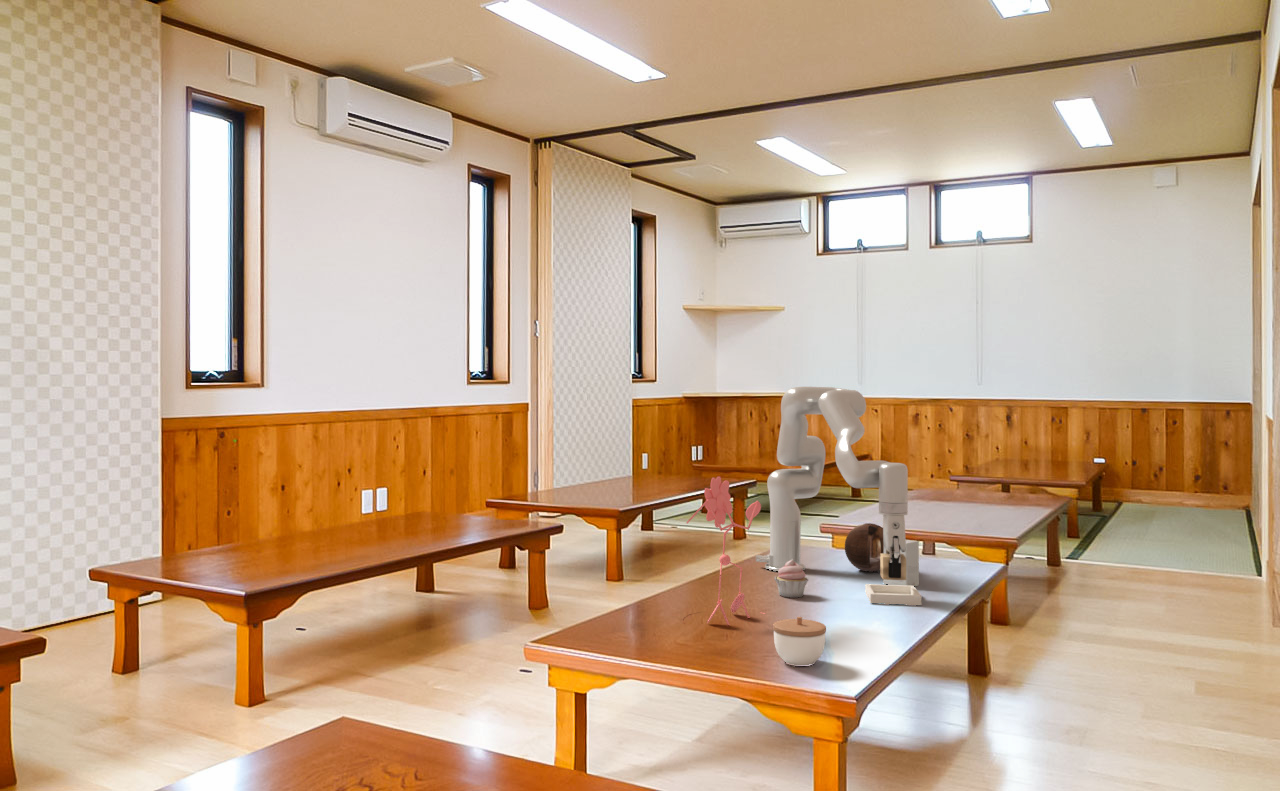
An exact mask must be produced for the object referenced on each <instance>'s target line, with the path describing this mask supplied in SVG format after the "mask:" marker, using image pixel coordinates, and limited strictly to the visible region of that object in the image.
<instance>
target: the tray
mask: <svg viewBox="0 0 1280 791" xmlns="http://www.w3.org/2000/svg"><path fill="white" fill-rule="evenodd" d="M864 587H865V588H864V589H865V592H866V594H865V595H867V596H866V597H868V598H869V600H868V601H870V602H869V604H870V603H885V604H884V605H889V604H905V605H904V606H916V605H921V606H922V594H921V593H920V592H919V591H918V589H917V588H916V586H915V587H914V586H908V585H886V584H870V583H865V585H864ZM865 592H864V593H865ZM868 598H867V599H868ZM906 604H907V605H906Z"/></svg>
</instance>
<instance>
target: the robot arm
mask: <svg viewBox="0 0 1280 791" xmlns="http://www.w3.org/2000/svg"><path fill="white" fill-rule="evenodd" d="M780 402H781V403H780V413H781V414H780V415H781V416H780V417H781V420H780V429H779V433H778V434H779V435H778V441H777V448H776V449H777V450H776V460H777V461H778V463H779V464H780V465H783V466H786V467H801V468H781V469H776V470H774V471H773V472H771V473H769V475H768V478H767V482H766V484H767V486H766V487H767V491H768V496H769V497H768V498H769V510H770V511H769V512H770V513H769V514H770V516H769V518H770V522H769V523H770V524H769V526H770V527H769V531H770V532H769V534H770V537H769V552H768V554H765V555H761V554H760V555H757V554H756V555H755V562H758V563H765V564H764V567H765V569H766V570H767V569H769V570H768V571H771V570H773V571H772V572H776V571H779V569H780V568H782V567H784V566H785V564H786V563H787V562H788V561H790V560H793V561H794V562H796V563H797V564H799V565H800V566H801V567H802V570H804V571H805V570H806V565H805V564H802V563H801V537H802V536H801V535H802V533H801V525H802V523H801V522H802V521H801V517H802V516H801V510H800V508H799V505H798V504H797V502H796V500H797V499H810V498H813V497H814V498H815V497H816V496H817V495H818V494H819V492H820V489H821V486H822V481H823V474H824V468H825V464H826V456H827V455H826V447H825V444H824V441H823V440H822V439H821V438H820V437H818V436H815V435H808V430H809V421H808V419H807V416H806V415H822V416H823V417H824V419H825V422H826V423H827V425H828V427H829V428H830V430H831V432H832V434H833V436H835V439H836V441H837V442H836V445H835V449H834V457H835V458H834V459H835V464H836V466H837V469H838V471H839V473H840V474H841V476H842V477H843V479H844V481H845V482H846V483H847V484H848V485H849V486H851V487H852V488H855V489H867V488H869V489H871V488H874V489H875V488H877V489H878V514H879V515H882V517H883V518H882V528H883V543H884V547H885V549H886V554H889V557H890V562H889V577H890V578H901V557H900V549H901V551H902V552H905V551H906V540H907V539H906V521H905V516H908V514H909V512H908V511H909V510H908V506H909V504H908V499H909V498H908V497H909V495H908V493H909V492H908V490H909V487H908V486H909V485H908V483H909V481H908V480H909V479H908V478H909V477H908V476H909V474H908V473H909V470H908V466H907V465H906V464H905V463H901V462H890V461H887V460H881V459H879V460H878V459H877V460H858V458H857V457H856V455H855V453H854V452H853V449H852V445H854V444H856V443H857V442H858V441H860V440H861V438H862V437H863V436H864V434H865V432H866V431H865V426H864V425H863V423H862V421H861V419H860V418H861V417H862V416H863V415H864V414H865V412H866V411H867V402H866V398H865V396H863V394H862V393H860V392H859V391H858V390H855V389H846V388H839V387H832V386H831V387H830V386H796V387H791V388H790V389H788V390H786V391H785V393H784V394H783V395H782V397H781V401H780Z"/></svg>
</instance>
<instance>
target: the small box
mask: <svg viewBox="0 0 1280 791" xmlns="http://www.w3.org/2000/svg"><path fill="white" fill-rule="evenodd" d="M919 543H920V541H919V540H918V541H917V540H913V539H912V540H910V539H906V551H905V552H902V551H901V549H900V554H903V555H904V556H905V557H906V580H883V579H882V580H883V581H882V582H883V583H884V584H883V585H886V584H888V585H908V586H915V587H918V586H919V585H920V584H919V583H920V574H919V573H920V558H919V557H920V556H919V555H920V554H919V553H920V551H919V550H920V549H919V547H920V546H919V545H920V544H919ZM884 554H886V549H885V547H884Z"/></svg>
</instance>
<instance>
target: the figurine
mask: <svg viewBox="0 0 1280 791" xmlns="http://www.w3.org/2000/svg"><path fill="white" fill-rule="evenodd" d="M729 490H730V481H728V480H724V481H722V477H721V476H716V477H712V478H711V481H710V488H708V487H705V488H704V497H705V501H704V503H702V504H701V506H699V507H698V508H697V510H696V511H695V512H694V513H693V514H692V516H691V517H690V518H689V519H688V520H687V521H686V524H689V523H690V522H691V521H692V520H693V519H694V518H695V516H696V515H697V514H698V513H699V512H700V511H701V510H702V509H703V507H704V508H705V509H706V510H707V513H706V516H705V519H706V521H707V522H712V521H714V527H715V528H716V529H719V531H721V532H722V531H724V532H723V541H722V543H723V544H722V555H720V557H719V563H720V568H719V581H718V584H719V585H718V596H717V597H718V598H717V602H716V607H715V608H714V610H713V612H712V613H711V615H710V617H709V618H708V620H707V622H706V623H707V624H709V622H710V621H711V620H712V618H713V616H714V615H715V614H716V612H717V611H718V609H720V611H721V613H722V616H723V618H724V620H725V623H726V625H727V626H728V625H730V626H731V624H730V622H729V619H728V617H727V614H726V612H725V610H724V607H723V604H722V602H723V598H721V588H722V587H721V584H722V572H723V566H725V567H726V566H728V565H730V564H731V565H732V566H736V567H737V568H739V569H740V572H739V574H740V575H739V586H738V588H739V589H738V590H739V591H738V595H737V596H736V597H735V598H734V600H733V601H732V602H731V606H730V611H731V613H732V614H735V613H736V612H737V610H738V609H739V608H740V607H741V606H742V607H743V611H744V613H745V615H746V617H747V619H748V618H750V619H751V616H750V614H749V612H748V609H747V606H746V604H745V594H744V593H743V592H742V593H741V591H742V590H741V588H742V574H743V567H742V566H740V565H737V564H735V563H734V562H732V561H731V557H730V556H729V555H728V554H726V553H725V550H726V539H727V537H726V536H727V534H728V532H730V530H732V528H735V527H738V528H741V529H745V530H750V528H751V526H752V522H753V519H754V518H756V516H757V515H758V514H759V513H760V512H761V509H762V504H761V503H760V501H759V500H756V501H755V502H753V503H751V504H749V506H748V507H747V508H746V510H745V517H746V519H747V520H748V521H749V522H748V525H747V526H745V525H741V524H738V523H735V522H734V520H733V517H732V516H731V514H732V513H733V505H732V502H731V494H730V492H729ZM727 516H728V518H729V520H730V524H728V525H726V526H724V527H722V525H725V524H726V518H727ZM720 598H721V599H720ZM759 613H760V614H763V615H764V614H765V615H766V613H765V612H762V611H761V612H759Z"/></svg>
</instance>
